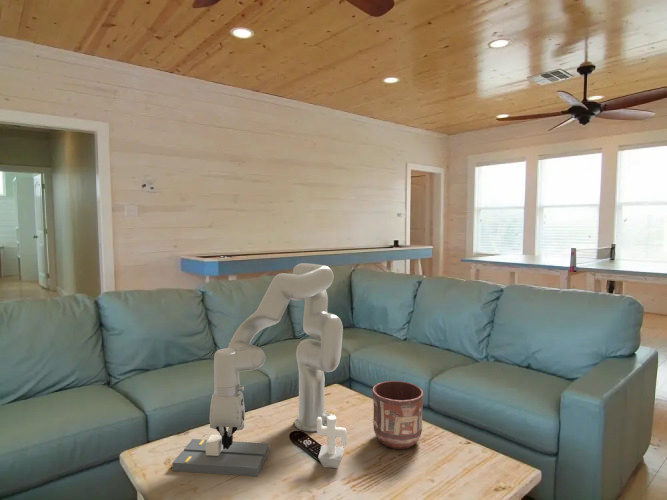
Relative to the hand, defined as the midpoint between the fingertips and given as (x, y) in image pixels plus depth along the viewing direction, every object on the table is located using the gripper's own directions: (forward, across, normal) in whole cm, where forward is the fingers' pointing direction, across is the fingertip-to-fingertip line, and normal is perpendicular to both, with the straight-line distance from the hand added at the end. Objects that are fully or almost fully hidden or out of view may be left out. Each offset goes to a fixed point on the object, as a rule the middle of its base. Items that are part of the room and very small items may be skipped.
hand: (227, 446), depth 131 cm
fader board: (+5, +1, 0) cm, 5 cm away
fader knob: (+3, +4, 0) cm, 5 cm away
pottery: (+5, -54, -18) cm, 57 cm away
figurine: (+5, -33, -2) cm, 33 cm away
